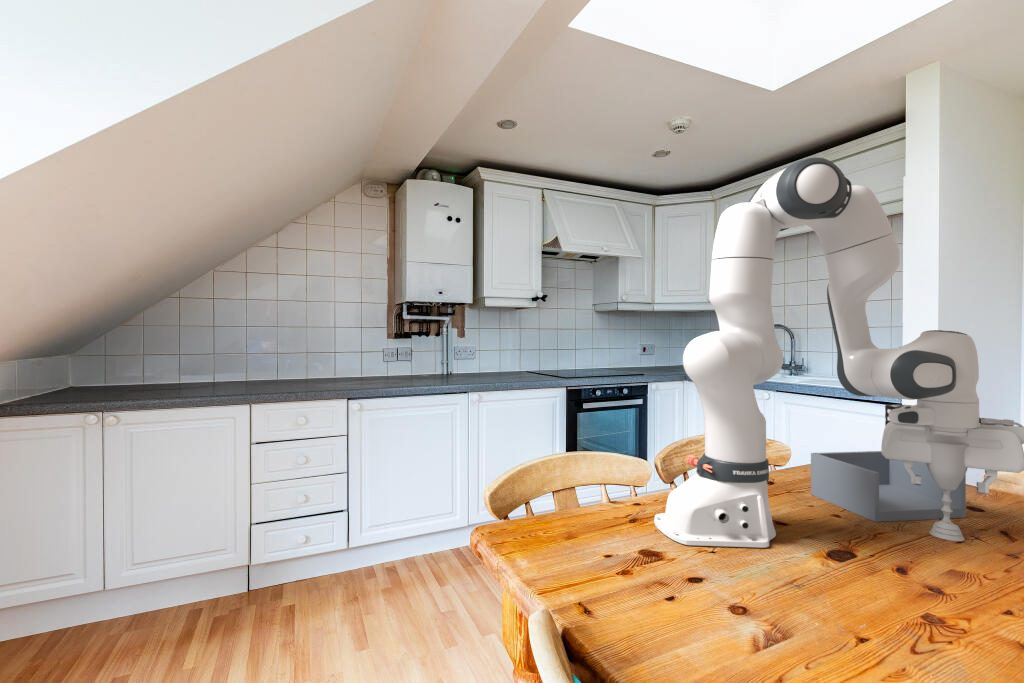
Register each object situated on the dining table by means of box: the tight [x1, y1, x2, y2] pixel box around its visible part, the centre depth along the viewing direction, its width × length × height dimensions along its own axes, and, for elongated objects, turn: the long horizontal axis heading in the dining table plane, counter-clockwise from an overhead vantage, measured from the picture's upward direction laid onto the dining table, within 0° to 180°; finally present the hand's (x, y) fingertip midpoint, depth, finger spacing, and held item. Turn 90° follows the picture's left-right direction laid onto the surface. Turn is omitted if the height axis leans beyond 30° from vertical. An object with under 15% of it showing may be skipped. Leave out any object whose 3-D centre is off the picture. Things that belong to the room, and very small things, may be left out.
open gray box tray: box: [810, 450, 967, 523], centre depth 109 cm, size 21×18×10 cm
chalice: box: [927, 441, 969, 542], centre depth 92 cm, size 7×7×18 cm
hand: (948, 488), depth 92 cm, fingers open, 8 cm apart
